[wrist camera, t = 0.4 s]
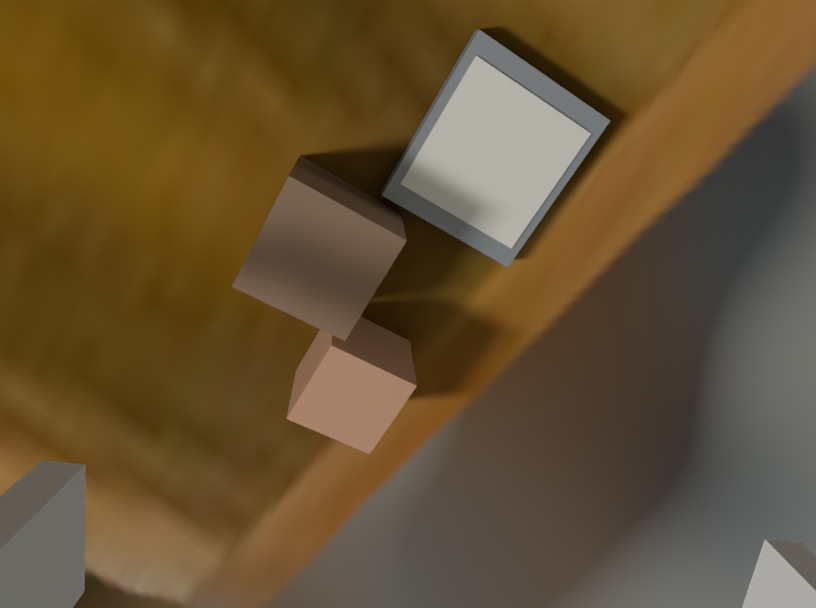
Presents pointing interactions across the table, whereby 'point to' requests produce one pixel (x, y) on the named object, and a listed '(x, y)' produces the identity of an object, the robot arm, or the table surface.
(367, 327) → the terracotta cube
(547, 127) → the slate picture frame
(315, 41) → the table surface
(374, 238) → the walnut block
